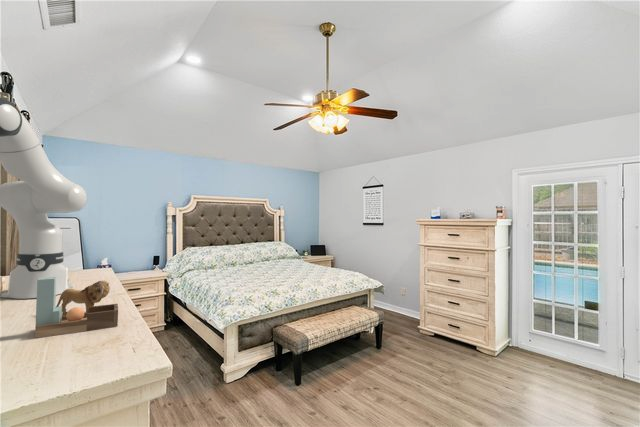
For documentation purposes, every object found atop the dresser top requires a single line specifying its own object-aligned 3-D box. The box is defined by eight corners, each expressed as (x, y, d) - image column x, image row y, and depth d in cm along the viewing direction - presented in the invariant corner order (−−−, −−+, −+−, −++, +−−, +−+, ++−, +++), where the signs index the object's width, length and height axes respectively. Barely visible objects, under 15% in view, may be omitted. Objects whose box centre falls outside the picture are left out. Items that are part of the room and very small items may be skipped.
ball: (66, 321, 76) (67, 306, 76) (84, 318, 78) (85, 305, 78) (64, 325, 73) (65, 310, 73) (83, 322, 75) (84, 308, 75)
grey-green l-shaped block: (38, 323, 73) (40, 277, 73) (61, 320, 76) (63, 275, 76) (34, 329, 70) (36, 280, 70) (58, 325, 72) (60, 278, 72)
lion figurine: (112, 309, 91) (113, 278, 92) (104, 314, 86) (105, 282, 86) (55, 311, 88) (56, 279, 88) (42, 316, 83) (44, 283, 83)
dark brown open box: (88, 322, 80) (89, 306, 80) (117, 318, 83) (117, 303, 83) (86, 330, 74) (87, 314, 74) (117, 326, 77) (118, 310, 77)
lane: (40, 328, 74) (41, 318, 74) (88, 322, 79) (88, 312, 79) (35, 338, 69) (35, 326, 69) (86, 330, 74) (87, 320, 74)
